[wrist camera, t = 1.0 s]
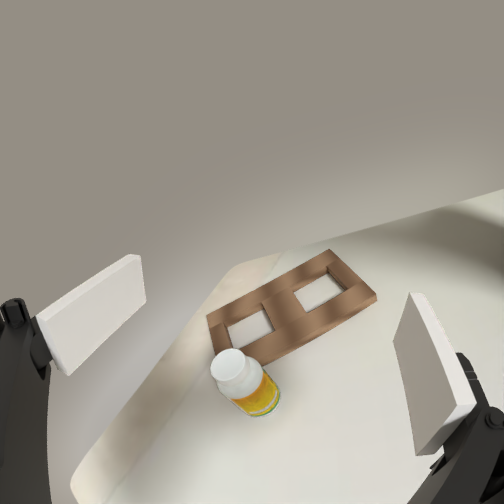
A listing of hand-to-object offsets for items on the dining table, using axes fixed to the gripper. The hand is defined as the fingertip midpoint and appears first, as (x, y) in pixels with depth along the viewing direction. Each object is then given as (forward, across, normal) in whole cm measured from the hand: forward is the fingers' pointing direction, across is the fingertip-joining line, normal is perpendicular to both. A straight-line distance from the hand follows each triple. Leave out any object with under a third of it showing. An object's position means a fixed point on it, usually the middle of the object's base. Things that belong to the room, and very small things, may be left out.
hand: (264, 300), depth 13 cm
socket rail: (+26, -1, -17) cm, 31 cm away
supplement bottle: (+12, -1, -22) cm, 25 cm away
